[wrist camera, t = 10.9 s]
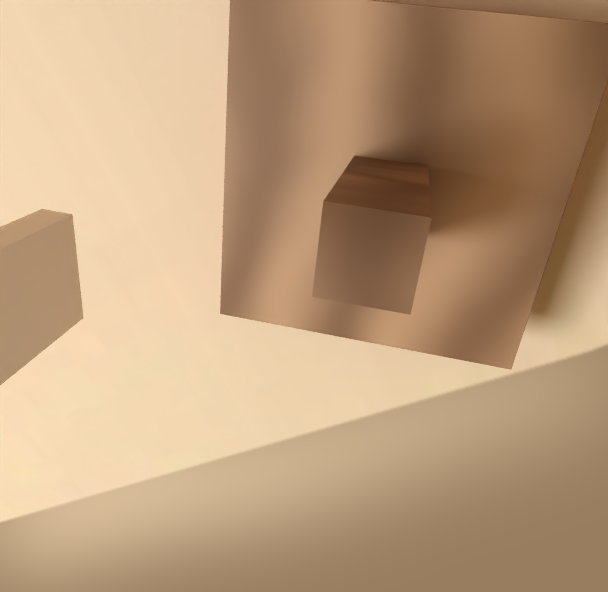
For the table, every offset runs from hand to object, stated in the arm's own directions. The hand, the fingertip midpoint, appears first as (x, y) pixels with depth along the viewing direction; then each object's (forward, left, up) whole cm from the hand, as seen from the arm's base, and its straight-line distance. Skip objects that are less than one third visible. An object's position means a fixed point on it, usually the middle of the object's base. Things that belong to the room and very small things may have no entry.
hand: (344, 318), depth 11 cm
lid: (0, 0, -14) cm, 14 cm away
